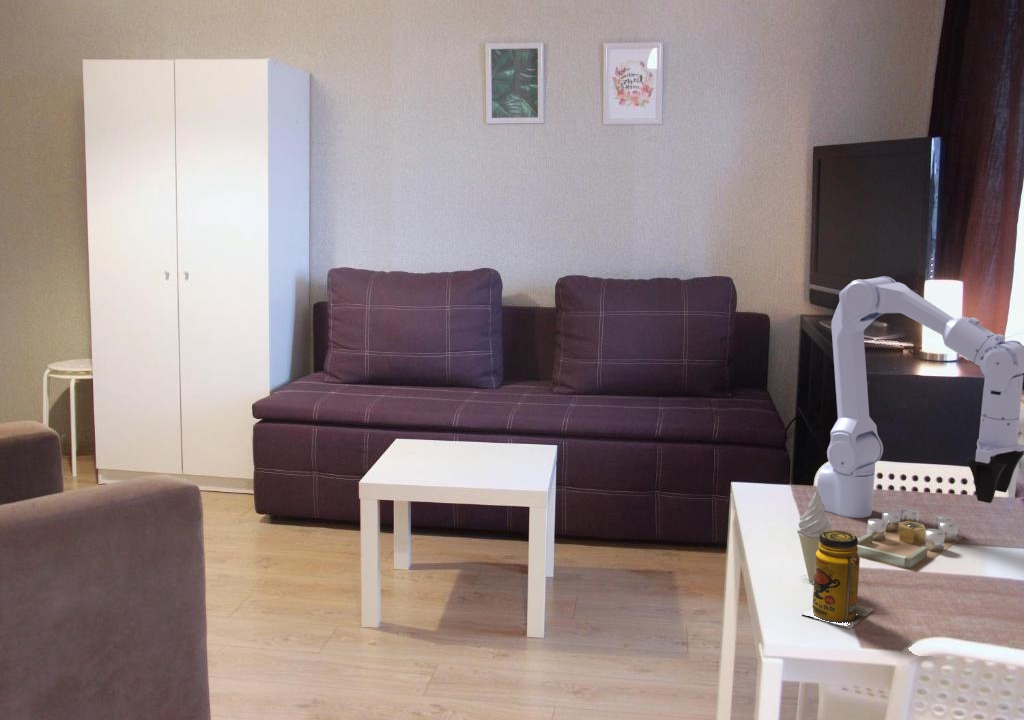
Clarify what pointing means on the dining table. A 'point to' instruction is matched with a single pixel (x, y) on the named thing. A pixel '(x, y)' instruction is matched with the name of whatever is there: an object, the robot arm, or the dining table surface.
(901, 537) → the nut
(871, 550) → the tan tray
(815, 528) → the ice cream cone
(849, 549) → the condiment
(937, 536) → the spacers
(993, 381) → the robot arm
